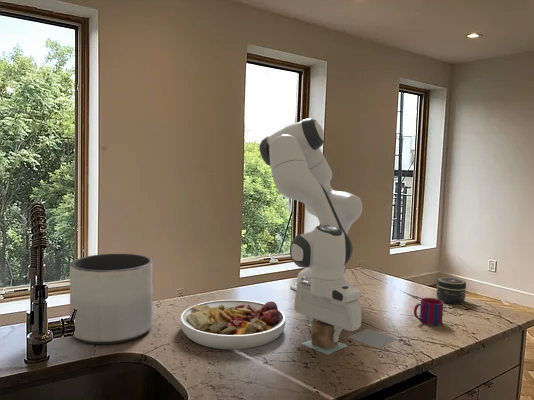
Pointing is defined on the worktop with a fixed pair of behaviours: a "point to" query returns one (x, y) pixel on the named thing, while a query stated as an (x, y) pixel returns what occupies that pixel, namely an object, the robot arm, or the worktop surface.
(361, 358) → the worktop surface
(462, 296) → the jar
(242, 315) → the bowl
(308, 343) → the code tile
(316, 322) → the walnut block
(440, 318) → the mug
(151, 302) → the planter
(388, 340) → the slate coaster
